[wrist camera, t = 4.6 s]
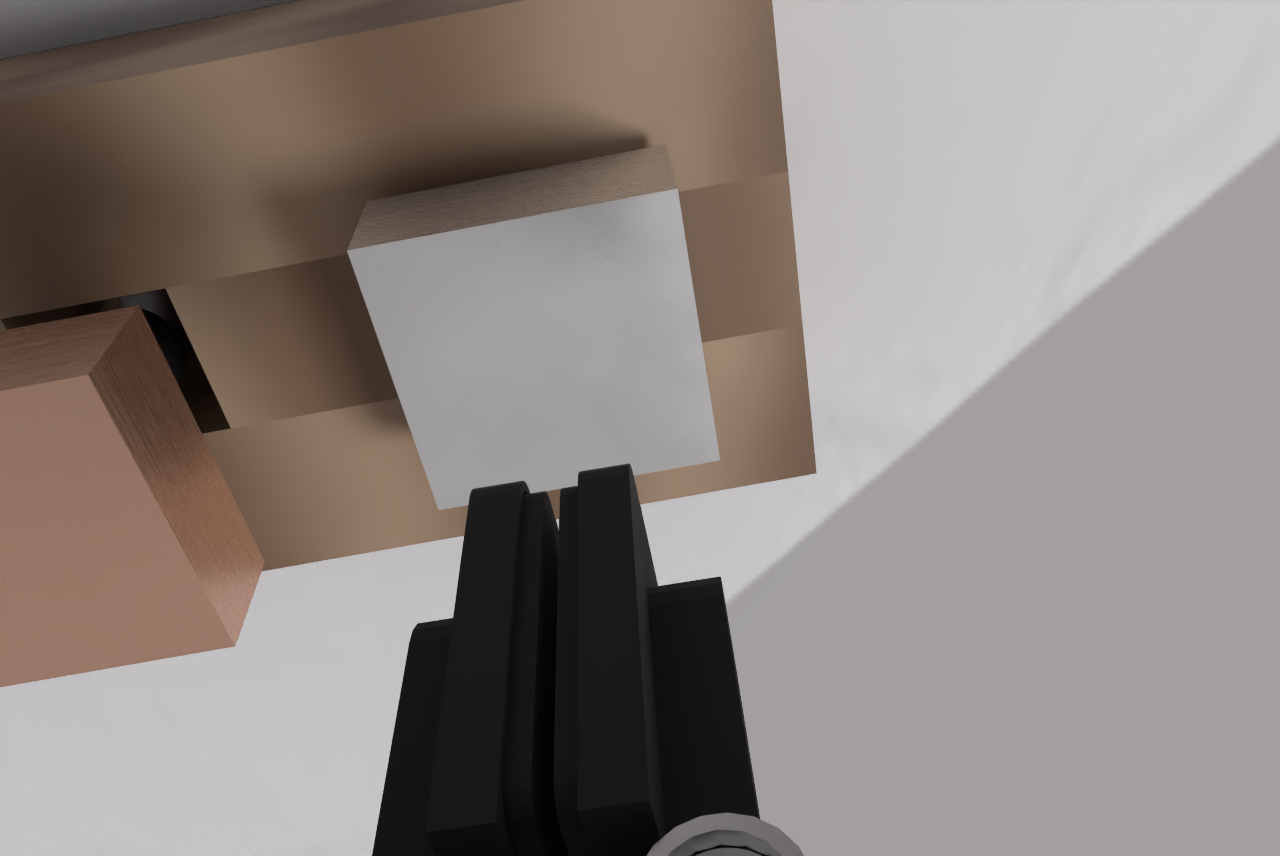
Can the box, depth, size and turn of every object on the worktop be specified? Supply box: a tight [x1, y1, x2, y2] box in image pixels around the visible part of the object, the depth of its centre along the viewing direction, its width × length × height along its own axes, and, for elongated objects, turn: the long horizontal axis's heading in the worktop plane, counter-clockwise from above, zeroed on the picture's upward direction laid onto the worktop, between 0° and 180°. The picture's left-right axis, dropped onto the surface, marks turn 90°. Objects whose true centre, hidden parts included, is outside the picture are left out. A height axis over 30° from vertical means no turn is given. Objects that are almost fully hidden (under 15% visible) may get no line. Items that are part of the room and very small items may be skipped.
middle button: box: [0, 305, 265, 687], centre depth 18 cm, size 5×5×6 cm
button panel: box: [0, 0, 816, 571], centre depth 21 cm, size 25×10×4 cm, turn 100°
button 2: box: [347, 145, 720, 510], centre depth 19 cm, size 5×5×6 cm
